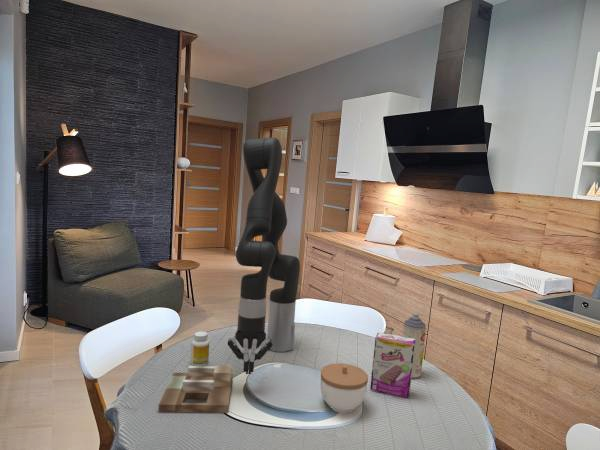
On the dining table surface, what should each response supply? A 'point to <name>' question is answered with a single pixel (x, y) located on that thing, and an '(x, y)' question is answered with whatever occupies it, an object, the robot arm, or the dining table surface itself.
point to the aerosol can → (416, 331)
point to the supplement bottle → (200, 349)
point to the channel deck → (195, 392)
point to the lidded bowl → (343, 386)
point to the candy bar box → (392, 364)
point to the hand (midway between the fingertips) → (248, 372)
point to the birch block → (222, 376)
